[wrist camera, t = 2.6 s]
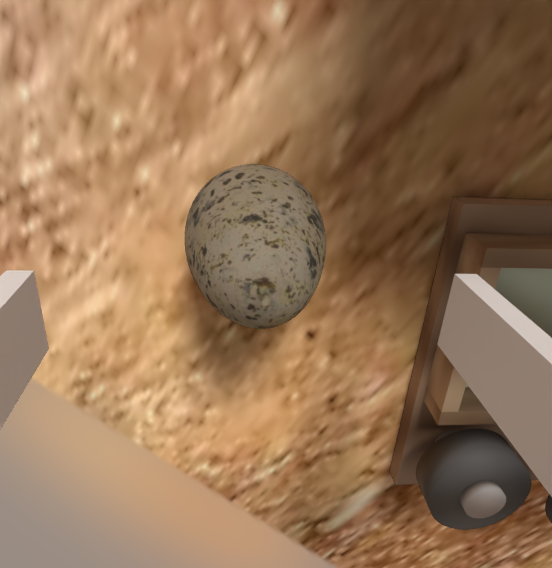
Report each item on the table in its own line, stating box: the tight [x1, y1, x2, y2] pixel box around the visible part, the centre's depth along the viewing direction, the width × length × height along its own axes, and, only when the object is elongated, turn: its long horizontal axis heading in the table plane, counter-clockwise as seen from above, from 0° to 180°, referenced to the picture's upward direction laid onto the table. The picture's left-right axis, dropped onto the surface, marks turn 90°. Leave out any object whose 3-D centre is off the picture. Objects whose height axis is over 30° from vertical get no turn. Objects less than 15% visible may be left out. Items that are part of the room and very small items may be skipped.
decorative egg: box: [185, 164, 326, 329], centre depth 19 cm, size 6×6×10 cm
